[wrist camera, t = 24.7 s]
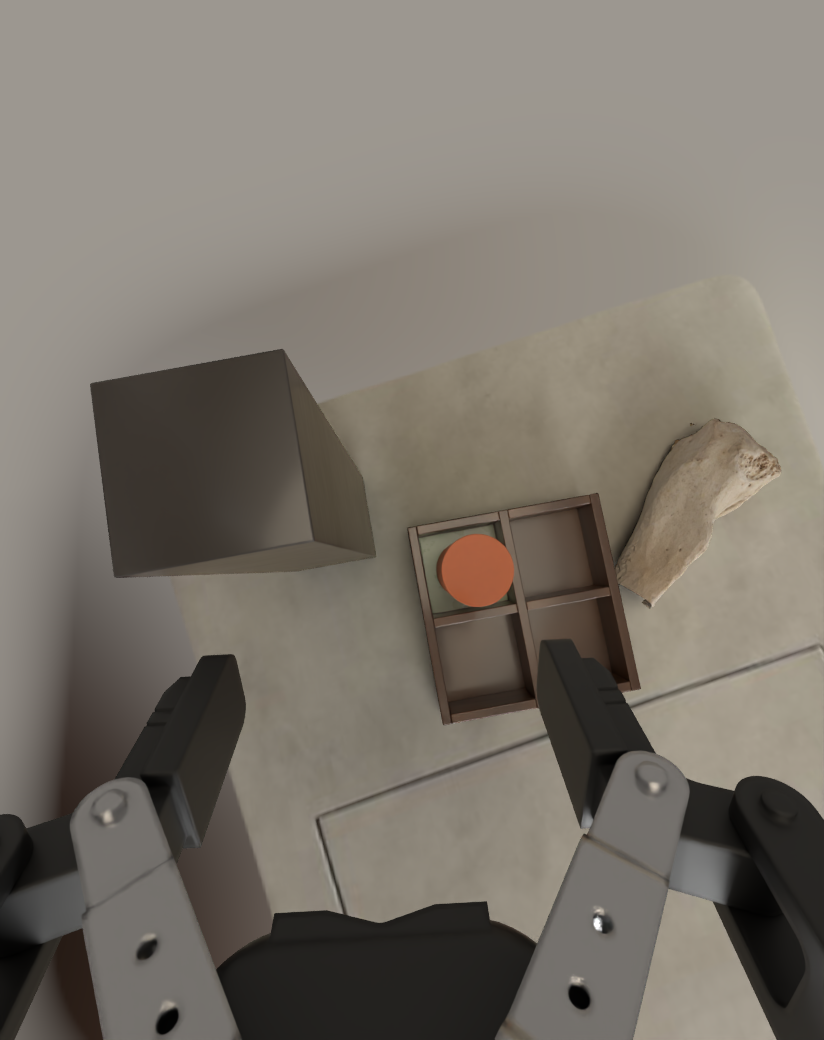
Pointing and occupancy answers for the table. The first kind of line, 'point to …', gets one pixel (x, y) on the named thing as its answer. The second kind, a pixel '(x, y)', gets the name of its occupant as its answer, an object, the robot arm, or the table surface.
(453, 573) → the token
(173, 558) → the stand
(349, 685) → the table surface
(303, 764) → the table surface
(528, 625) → the grid
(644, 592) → the bone fragment
